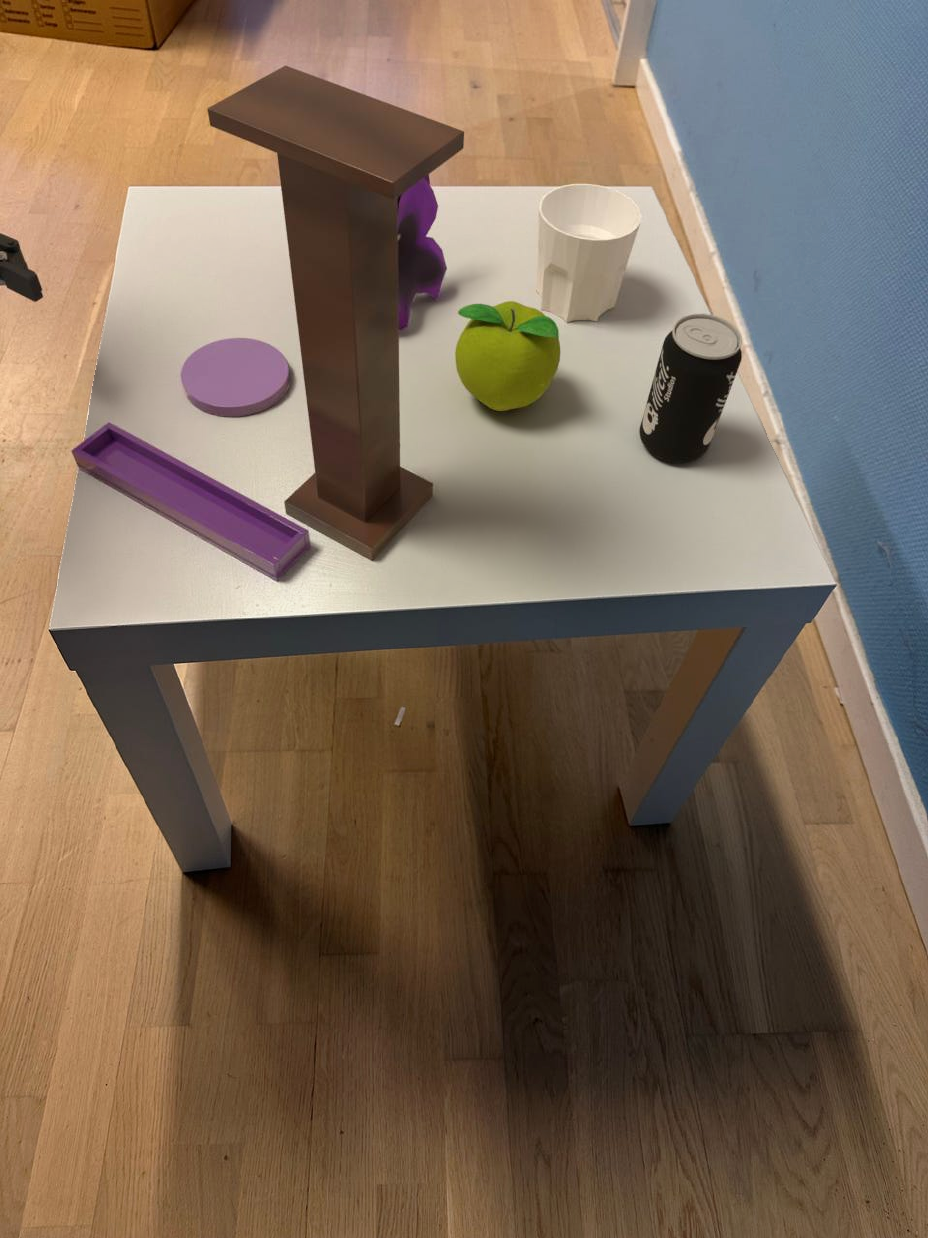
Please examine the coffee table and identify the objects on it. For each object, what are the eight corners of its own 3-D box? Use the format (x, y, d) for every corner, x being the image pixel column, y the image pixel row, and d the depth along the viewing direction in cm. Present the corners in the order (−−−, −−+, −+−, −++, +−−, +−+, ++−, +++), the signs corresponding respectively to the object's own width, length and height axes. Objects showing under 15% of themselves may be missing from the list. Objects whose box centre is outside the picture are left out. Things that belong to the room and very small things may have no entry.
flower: (308, 356, 96) (400, 348, 87) (237, 217, 87) (332, 193, 78) (385, 289, 103) (477, 276, 95) (328, 155, 94) (423, 128, 86)
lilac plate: (242, 431, 81) (240, 421, 80) (160, 388, 84) (157, 378, 83) (311, 373, 86) (310, 363, 85) (231, 334, 89) (229, 324, 88)
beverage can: (686, 478, 81) (724, 371, 71) (624, 445, 83) (653, 336, 73) (720, 439, 84) (761, 332, 74) (659, 408, 86) (691, 300, 76)
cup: (610, 270, 99) (628, 182, 91) (630, 326, 93) (651, 238, 85) (521, 272, 98) (531, 184, 90) (536, 329, 92) (548, 241, 84)
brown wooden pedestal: (391, 571, 73) (382, 190, 47) (267, 503, 76) (194, 114, 50) (452, 504, 77) (474, 124, 51) (332, 443, 81) (295, 58, 55)
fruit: (528, 444, 82) (541, 354, 74) (438, 409, 84) (442, 319, 76) (567, 386, 87) (583, 297, 79) (481, 355, 89) (488, 265, 81)
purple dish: (276, 581, 72) (273, 565, 70) (78, 468, 78) (70, 450, 76) (311, 547, 74) (308, 530, 72) (115, 439, 80) (108, 421, 78)
